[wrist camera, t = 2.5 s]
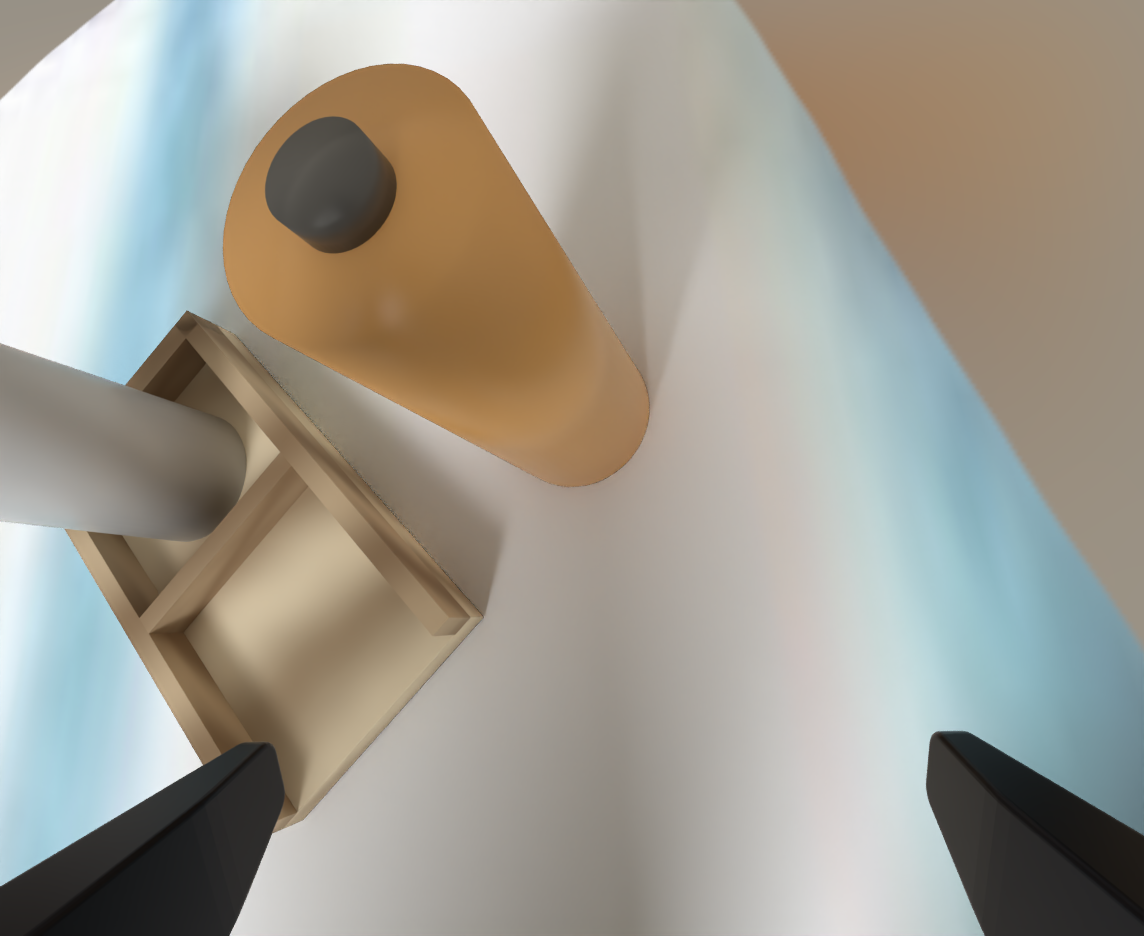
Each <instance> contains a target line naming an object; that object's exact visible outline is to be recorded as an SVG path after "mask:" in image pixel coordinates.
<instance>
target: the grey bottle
mask: <svg viewBox="0 0 1144 936" xmlns="http://www.w3.org/2000/svg"><path fill="white" fill-rule="evenodd" d="M245 476H246V454H245V448H244V445H243V442H242V440H241V437H240V435H239V434H238V432H237V431H236V429H235V428H234V427H233V426H232V425H231V424H230V423H228V422H227V421H226V420H224V419H222V418H219V417H216V416H213V415H211V414H208V413H205V412H202V411H199V410H196V409H193V408H190V407H187V406H184V405H181V404H178V403H175V402H172V401H169V400H166V399H163V398H160V397H157V396H154V395H151V394H149V393H146V392H143V391H140V390H137V389H134V388H131V387H128V386H125V385H122V384H119V383H116V382H113V381H110V380H107V379H104V378H101V377H98V376H95V375H92V374H89V373H86V372H84V371H81V370H78V369H75V368H72V367H69V366H66V365H63V364H60V363H57V362H54V361H51V360H48V359H45V358H42V357H39V356H36V355H33V354H30V353H27V352H24V351H22V350H19V349H16V348H13V347H10V346H7V345H4V344H1V343H0V522H9V523H18V524H27V525H36V526H45V527H54V528H63V529H72V530H81V531H90V532H99V533H107V534H116V535H125V536H134V537H143V538H152V539H161V540H170V541H179V542H190V541H195V540H198V539H201V538H203V537H205V536H207V535H209V534H210V533H212V532H213V531H214V530H215V528H216V527H217V526H218V525H219V524H220V523H221V521H222V520H223V519H224V518H225V517H226V516H227V514H228V513H229V512H230V511H231V510H232V508H233V507H234V506H235V505H236V504H237V502H238V500H239V498H240V495H241V492H242V489H243V486H244V482H245Z"/></svg>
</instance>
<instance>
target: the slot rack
mask: <svg viewBox="0 0 1144 936" xmlns="http://www.w3.org/2000/svg"><path fill="white" fill-rule="evenodd" d="M125 386H128V387H131V388H134V389H137V390H140V391H143V392H146V393H149V394H151V395H154V396H157V397H160V398H163V399H166V400H169V401H172V402H175V403H178V404H181V405H184V406H187V407H190V408H193V409H196V410H199V411H202V412H205V413H208V414H211V415H213V416H216V417H219V418H222V419H224V420H226V421H227V422H228V423H230V424H231V425H232V426H233V427H234V428H235V429H236V431H237V432H238V434H239V435H240V437H241V440H242V442H243V445H244V448H245V454H246V476H245V482H244V486H243V489H242V492H241V495H240V498H239V500H238V502H237V504H236V505H235V506H234V507H233V508H232V510H231V511H230V512H229V513H228V514H227V516H226V517H225V518H224V519H223V520H222V521H221V523H220V524H219V525H218V526H217V527H216V528H215V530H214V531H213V532H212V533H210V534H209V535H207V536H205V537H203V538H201V539H198V540H195V541H190V542H179V541H170V540H161V539H152V538H143V537H134V536H125V535H116V534H107V533H99V532H90V531H81V530H72V529H65V530H66V532H67V534H68V536H69V537H70V539H71V541H72V542H73V544H74V546H75V547H76V549H77V551H78V553H79V554H80V556H81V558H82V559H83V561H84V563H85V565H86V566H87V568H88V570H89V571H90V573H91V575H92V576H93V578H94V580H95V582H96V583H97V585H98V587H99V588H100V590H101V592H102V593H103V595H104V597H105V599H106V600H107V602H108V604H109V605H110V607H111V609H112V611H113V612H114V614H115V616H116V617H117V619H118V621H119V622H120V624H121V626H122V628H123V629H124V631H125V633H126V634H127V636H128V638H129V639H130V641H131V643H132V645H133V646H134V648H135V650H136V651H137V653H138V655H139V656H140V658H141V660H142V662H143V663H144V665H145V667H146V668H147V670H148V672H149V674H150V675H151V677H152V679H153V680H154V682H155V684H156V685H157V687H158V689H159V691H160V692H161V694H162V696H163V697H164V699H165V701H166V702H167V704H168V706H169V708H170V709H171V711H172V713H173V714H174V716H175V718H176V719H177V721H178V723H179V725H180V726H181V728H182V730H183V731H184V733H185V735H186V737H187V738H188V740H189V742H190V743H191V745H192V747H193V748H194V750H195V752H196V754H197V755H198V757H199V759H200V760H201V762H202V764H203V765H205V764H206V763H208V762H210V761H211V760H213V759H215V758H216V757H218V756H220V755H221V754H223V753H225V752H226V751H228V750H230V749H231V748H233V747H235V746H236V745H238V744H240V743H243V742H270V743H271V744H273V746H274V747H275V750H276V753H277V757H278V761H279V766H280V770H281V774H282V779H283V783H284V788H285V799H284V804H283V807H282V810H281V813H280V815H279V818H278V820H277V823H276V825H275V828H274V830H273V833H274V832H277V831H279V830H281V829H284V828H286V827H288V826H291V825H293V824H295V823H298V822H300V821H302V820H304V818H305V817H306V816H307V815H308V814H309V813H310V812H311V811H312V809H313V808H314V807H315V806H316V805H317V804H318V803H319V802H320V800H321V799H322V798H323V797H324V796H325V795H326V794H327V793H328V791H329V790H330V789H331V788H332V787H333V786H334V785H335V784H336V782H337V781H338V780H339V779H340V778H341V777H342V776H343V775H344V773H345V772H346V771H347V770H348V769H349V768H350V767H351V766H352V764H353V763H354V762H355V761H356V760H357V759H358V758H359V757H360V755H361V754H362V753H363V752H364V751H365V750H366V749H367V748H368V747H369V745H370V744H371V743H372V742H373V741H374V740H375V739H376V738H377V736H378V735H379V734H380V733H381V732H382V731H383V730H384V729H385V727H386V726H387V725H388V724H389V723H390V722H391V721H392V720H393V718H394V717H395V716H396V715H397V714H398V713H399V712H400V711H401V709H402V708H403V707H404V706H405V705H406V704H407V703H408V702H409V700H410V699H411V698H412V697H413V696H414V695H415V694H416V693H417V691H418V690H419V689H420V688H421V687H422V686H423V685H424V684H425V682H426V681H427V680H428V679H429V678H430V677H431V676H432V675H433V673H434V672H435V671H436V670H437V669H438V668H439V667H440V666H441V664H442V663H443V662H444V661H445V660H446V659H447V658H448V657H449V655H450V654H451V653H452V652H453V651H454V650H455V649H456V648H457V646H458V645H459V644H460V643H461V642H462V641H463V640H464V639H465V637H466V636H467V635H468V634H469V633H470V632H471V631H472V630H473V628H474V627H475V626H476V625H477V624H478V623H479V622H480V621H481V620H482V618H483V616H482V615H481V613H480V612H479V611H478V610H477V609H476V608H475V607H474V606H473V604H472V603H471V602H470V601H469V600H468V599H467V598H466V596H465V595H464V594H463V593H462V592H461V591H460V590H459V589H458V587H457V586H456V585H455V584H454V583H453V582H452V581H451V579H450V578H449V577H448V576H447V575H446V574H445V573H444V571H443V570H442V569H441V568H440V567H439V566H438V565H437V564H436V562H435V561H434V560H433V559H432V558H431V557H430V556H429V554H428V553H427V552H426V551H425V550H424V549H423V548H422V547H421V545H420V544H419V543H418V542H417V541H416V540H415V539H414V537H413V536H412V535H411V534H410V533H409V532H408V531H407V529H406V528H405V527H404V526H403V525H402V524H401V523H400V522H399V520H398V519H397V518H396V517H395V516H394V515H393V514H392V512H391V511H390V510H389V509H388V508H387V507H386V506H385V505H384V503H383V502H382V501H381V500H380V499H379V498H378V497H377V495H376V494H375V493H374V492H373V491H372V490H371V489H370V487H369V486H368V485H367V484H366V483H365V482H364V481H363V480H362V478H361V477H360V476H359V475H358V474H357V473H356V472H355V470H354V469H353V468H352V467H351V466H350V465H349V464H348V463H347V461H346V460H345V459H344V458H343V457H342V456H341V455H340V453H339V452H338V451H337V450H336V449H335V448H334V447H333V446H332V444H331V443H330V442H329V441H328V440H327V439H326V438H325V436H324V435H323V434H322V433H321V432H320V431H319V430H318V428H317V427H316V426H315V425H314V424H313V423H312V422H311V421H310V419H309V418H308V417H307V416H306V415H305V414H304V413H303V411H302V410H301V409H300V408H299V407H298V406H297V405H296V404H295V402H294V401H293V400H292V399H291V398H290V397H289V396H288V394H287V393H286V392H285V391H284V390H283V389H282V388H281V386H280V385H279V384H278V383H277V382H276V381H275V380H274V379H273V377H272V376H271V375H270V374H269V373H268V372H267V371H266V369H265V368H264V367H263V366H262V365H261V364H260V363H259V362H258V360H257V359H256V358H255V357H254V356H253V355H252V354H251V352H250V351H249V350H248V349H247V348H246V347H245V346H244V344H243V343H242V342H241V341H240V340H239V339H238V338H237V337H236V335H235V334H233V333H231V332H229V331H227V330H225V329H223V328H221V327H219V326H217V325H215V324H213V323H211V322H209V321H207V320H205V319H203V318H201V317H199V316H197V315H195V314H193V313H191V312H189V311H186V312H185V313H184V315H183V316H182V317H181V318H180V320H179V321H178V322H177V323H176V324H175V326H174V327H173V328H172V329H171V330H170V332H169V333H168V334H167V335H166V337H165V338H164V339H163V340H162V341H161V343H160V344H159V345H158V346H157V347H156V349H155V350H154V351H153V352H152V354H151V355H150V356H149V357H148V358H147V360H146V361H145V362H144V363H143V364H142V366H141V367H140V368H139V369H138V371H137V372H136V373H135V374H134V375H133V377H132V378H131V379H130V380H129V381H128V383H127V384H126V385H125Z"/></svg>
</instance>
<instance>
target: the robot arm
mask: <svg viewBox="0 0 1144 936" xmlns="http://www.w3.org/2000/svg"><path fill="white" fill-rule="evenodd" d="M926 790H927V796H928V799H929V803H930V805H931V808H932V810H933V813H934V815H935V818H936V820H937V823H938V825H939V828H940V830H941V832H942V835H943V837H944V840H945V842H946V845H947V847H948V850H949V852H950V854H951V857H952V859H953V862H954V864H955V867H956V869H957V872H958V874H959V876H960V879H961V881H962V884H963V886H964V889H965V891H966V894H967V896H968V898H969V901H970V903H971V906H972V908H973V910H974V913H975V915H976V917H977V920H978V922H979V924H980V927H981V929H982V931H983V933H984V935H985V936H1144V835H1142V834H1140V833H1139V832H1137V831H1135V830H1133V829H1132V828H1130V827H1128V826H1127V825H1125V824H1123V823H1122V822H1120V821H1118V820H1117V819H1115V818H1113V817H1111V816H1110V815H1108V814H1106V813H1105V812H1103V811H1101V810H1100V809H1098V808H1096V807H1095V806H1093V805H1091V804H1089V803H1088V802H1086V801H1084V800H1083V799H1081V798H1079V797H1078V796H1076V795H1074V794H1073V793H1071V792H1069V791H1068V790H1066V789H1064V788H1062V787H1061V786H1059V785H1057V784H1056V783H1054V782H1052V781H1051V780H1049V779H1047V778H1046V777H1044V776H1042V775H1040V774H1039V773H1037V772H1035V771H1034V770H1032V769H1030V768H1029V767H1027V766H1025V765H1024V764H1022V763H1020V762H1019V761H1017V760H1015V759H1013V758H1012V757H1010V756H1008V755H1007V754H1005V753H1003V752H1002V751H1000V750H998V749H997V748H995V747H993V746H991V745H990V744H988V743H986V742H985V741H983V740H981V739H980V738H978V737H976V736H975V735H973V734H971V733H969V732H966V731H938V732H935V733H934V734H933V735H932V736H931V739H930V744H929V756H928V767H927V778H926ZM284 799H285V788H284V783H283V779H282V774H281V770H280V766H279V761H278V757H277V753H276V750H275V747H274V746H273V744H271V743H270V742H243V743H240V744H238V745H236V746H235V747H233V748H231V749H230V750H228V751H226V752H225V753H223V754H221V755H220V756H218V757H216V758H215V759H213V760H211V761H210V762H208V763H206V764H205V765H203V766H201V767H200V768H198V769H196V770H195V771H193V772H191V773H189V774H188V775H186V776H184V777H183V778H181V779H179V780H178V781H176V782H174V783H173V784H171V785H169V786H168V787H166V788H164V789H163V790H161V791H159V792H158V793H156V794H154V795H153V796H151V797H149V798H148V799H146V800H144V801H143V802H141V803H139V804H138V805H136V806H134V807H133V808H131V809H129V810H128V811H126V812H124V813H123V814H121V815H119V816H118V817H116V818H114V819H113V820H111V821H109V822H107V823H106V824H104V825H102V826H101V827H99V828H97V829H96V830H94V831H92V832H91V833H89V834H87V835H86V836H84V837H82V838H81V839H79V840H77V841H76V842H74V843H72V844H71V845H69V846H67V847H66V848H64V849H62V850H61V851H59V852H57V853H56V854H54V855H52V856H51V857H49V858H47V859H46V860H44V861H42V862H41V863H39V864H37V865H36V866H34V867H32V868H31V869H29V870H27V871H26V872H24V873H22V874H20V875H19V876H17V877H15V878H14V879H12V880H10V881H9V882H7V883H5V884H4V885H2V886H0V936H229V935H230V933H231V931H232V929H233V927H234V925H235V923H236V921H237V918H238V916H239V914H240V912H241V909H242V907H243V905H244V902H245V900H246V897H247V895H248V893H249V890H250V888H251V885H252V883H253V880H254V878H255V875H256V873H257V870H258V868H259V865H260V863H261V860H262V858H263V855H264V853H265V850H266V848H267V845H268V843H269V840H270V838H271V835H272V833H273V830H274V828H275V825H276V823H277V820H278V818H279V815H280V813H281V810H282V807H283V804H284Z"/></svg>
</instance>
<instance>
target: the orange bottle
mask: <svg viewBox="0 0 1144 936" xmlns="http://www.w3.org/2000/svg"><path fill="white" fill-rule="evenodd" d="M223 257H224V267H225V272H226V277H227V281H228V284H229V287H230V290H231V293H232V295H233V297H234V299H235V301H236V302H237V304H238V306H239V308H240V309H241V311H242V312H243V313H244V314H245V316H246V317H247V318H248V320H250V321H251V322H252V323H253V324H254V325H255V326H256V327H257V328H258V329H260V330H261V331H263V332H264V333H266V334H267V335H269V336H271V337H272V338H274V339H276V340H278V341H280V342H282V343H284V344H285V345H287V346H289V347H291V348H293V349H295V350H297V351H299V352H301V353H303V354H304V355H306V356H308V357H310V358H312V359H314V360H316V361H318V362H320V363H321V364H323V365H325V366H327V367H329V368H331V369H333V370H335V371H337V372H338V373H340V374H342V375H344V376H346V377H348V378H350V379H352V380H354V381H355V382H357V383H359V384H361V385H363V386H365V387H367V388H369V389H371V390H372V391H374V392H376V393H378V394H380V395H382V396H384V397H386V398H388V399H389V400H391V401H393V402H395V403H397V404H399V405H401V406H403V407H405V408H406V409H408V410H410V411H412V412H414V413H416V414H418V415H420V416H422V417H423V418H425V419H427V420H429V421H431V422H433V423H435V424H437V425H439V426H440V427H442V428H444V429H446V430H448V431H450V432H452V433H454V434H456V435H457V436H459V437H461V438H463V439H465V440H467V441H469V442H471V443H473V444H474V445H476V446H478V447H480V448H482V449H484V450H486V451H488V452H490V453H491V454H493V455H495V456H497V457H499V458H501V459H503V460H505V461H507V462H508V463H510V464H512V465H514V466H516V467H518V468H520V469H522V470H524V471H526V472H527V473H529V474H531V475H533V476H535V477H537V478H539V479H541V480H543V481H545V482H548V483H550V484H554V485H558V486H564V487H579V486H586V485H590V484H593V483H597V482H599V481H601V480H603V479H606V478H607V477H609V476H611V475H612V474H614V473H615V472H617V471H618V470H619V469H620V468H622V467H623V466H624V465H625V464H626V463H627V462H628V461H629V460H630V459H631V457H632V456H633V455H634V453H635V452H636V450H637V449H638V447H639V445H640V444H641V442H642V439H643V437H644V435H645V432H646V428H647V425H648V419H649V398H648V392H647V389H646V385H645V383H644V380H643V378H642V376H641V375H640V373H639V371H638V370H637V368H636V366H635V365H634V363H633V362H632V360H631V358H630V357H629V355H628V354H627V352H626V350H625V349H624V347H623V346H622V344H621V342H620V341H619V339H618V337H617V336H616V334H615V333H614V331H613V329H612V328H611V326H610V325H609V323H608V321H607V320H606V318H605V317H604V315H603V313H602V312H601V310H600V309H599V307H598V305H597V304H596V302H595V301H594V299H593V297H592V296H591V294H590V292H589V291H588V289H587V288H586V286H585V284H584V283H583V281H582V280H581V278H580V276H579V275H578V273H577V272H576V270H575V268H574V267H573V265H572V264H571V262H570V260H569V259H568V257H567V256H566V254H565V252H564V251H563V249H562V247H561V246H560V244H559V243H558V241H557V239H556V238H555V236H554V235H553V233H552V231H551V230H550V228H549V227H548V225H547V223H546V222H545V220H544V219H543V217H542V215H541V214H540V212H539V211H538V209H537V207H536V206H535V204H534V202H533V201H532V199H531V198H530V196H529V194H528V193H527V191H526V190H525V188H524V186H523V185H522V183H521V182H520V180H519V178H518V177H517V175H516V174H515V172H514V170H513V169H512V167H511V166H510V164H509V162H508V161H507V159H506V157H505V156H504V154H503V153H502V151H501V149H500V148H499V146H498V145H497V143H496V141H495V140H494V138H493V137H492V135H491V133H490V132H489V130H488V129H487V127H486V125H485V124H484V122H483V121H482V119H481V117H480V116H479V114H478V113H477V111H476V109H475V108H474V106H473V104H472V103H471V101H470V100H469V98H468V97H467V96H466V95H465V94H464V93H463V92H462V90H461V89H460V88H459V87H458V86H456V85H455V84H454V83H453V82H451V81H450V80H449V79H447V78H446V77H444V76H442V75H440V74H438V73H436V72H434V71H432V70H429V69H426V68H423V67H420V66H414V65H407V64H383V65H375V66H369V67H365V68H362V69H358V70H354V71H352V72H349V73H346V74H344V75H341V76H339V77H337V78H335V79H333V80H331V81H329V82H327V83H325V84H323V85H321V86H320V87H318V88H317V89H315V90H314V91H312V92H311V93H309V94H308V95H306V96H305V97H304V98H302V99H301V100H300V101H299V102H297V103H296V104H295V105H294V106H292V107H291V108H290V109H289V110H288V111H287V112H286V113H285V114H284V115H283V116H282V117H281V118H280V119H279V120H278V121H277V122H276V123H275V124H274V125H273V127H272V128H271V129H270V130H269V131H268V132H267V133H266V135H265V136H264V137H263V139H262V140H261V142H260V143H259V144H258V146H257V147H256V148H255V150H254V152H253V153H252V155H251V157H250V158H249V160H248V161H247V163H246V165H245V167H244V169H243V171H242V173H241V175H240V177H239V179H238V181H237V184H236V187H235V189H234V192H233V194H232V197H231V200H230V204H229V208H228V211H227V215H226V221H225V227H224V237H223Z"/></svg>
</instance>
